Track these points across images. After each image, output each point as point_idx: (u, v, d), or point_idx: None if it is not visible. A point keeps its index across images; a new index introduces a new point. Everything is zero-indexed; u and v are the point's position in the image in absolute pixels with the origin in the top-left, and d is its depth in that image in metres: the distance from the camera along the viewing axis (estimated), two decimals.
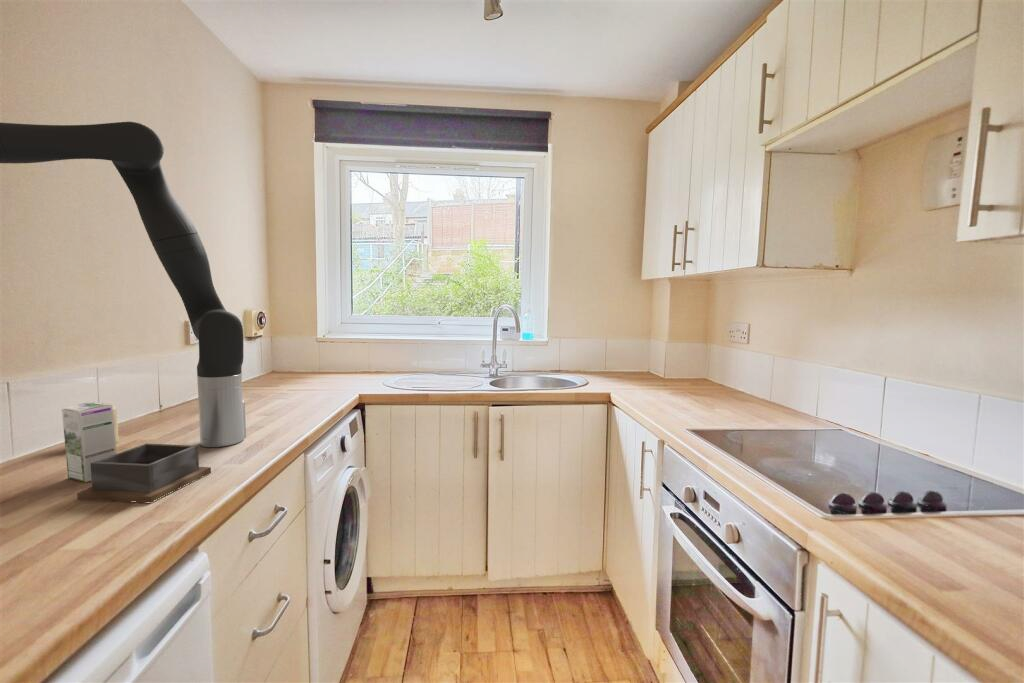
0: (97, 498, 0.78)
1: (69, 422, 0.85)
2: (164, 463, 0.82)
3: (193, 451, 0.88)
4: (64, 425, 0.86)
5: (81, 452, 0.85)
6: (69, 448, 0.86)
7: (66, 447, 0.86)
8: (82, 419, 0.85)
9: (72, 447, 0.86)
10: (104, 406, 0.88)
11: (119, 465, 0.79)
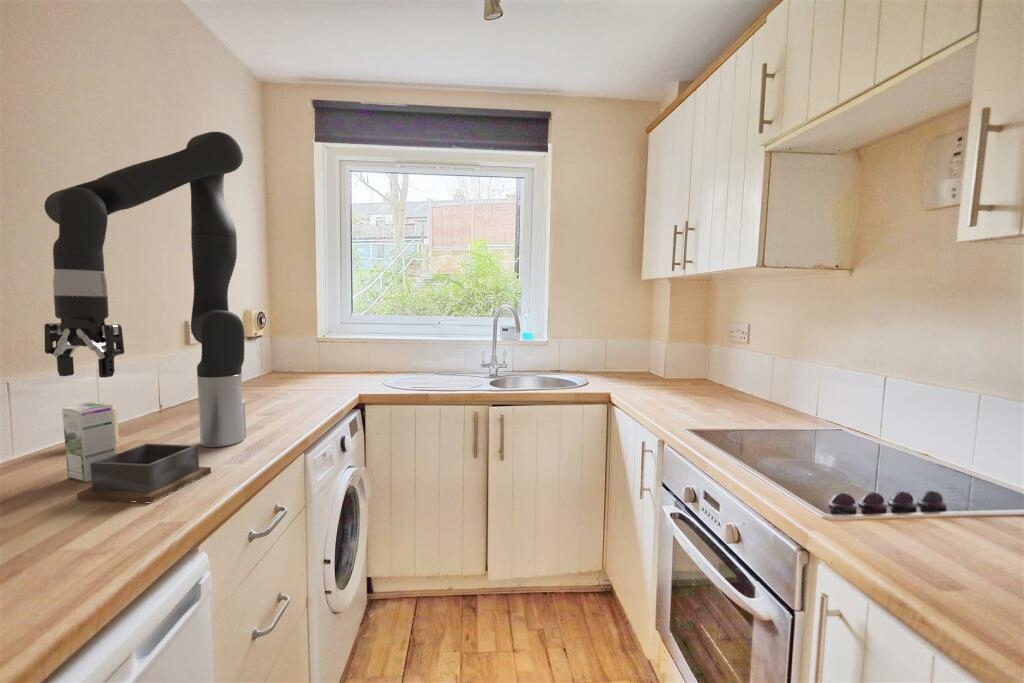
0: (97, 498, 0.78)
1: (69, 422, 0.85)
2: (164, 463, 0.82)
3: (193, 451, 0.88)
4: (64, 425, 0.86)
5: (81, 452, 0.85)
6: (69, 448, 0.86)
7: (66, 447, 0.86)
8: (82, 419, 0.85)
9: (72, 447, 0.86)
10: (104, 406, 0.88)
11: (119, 465, 0.79)
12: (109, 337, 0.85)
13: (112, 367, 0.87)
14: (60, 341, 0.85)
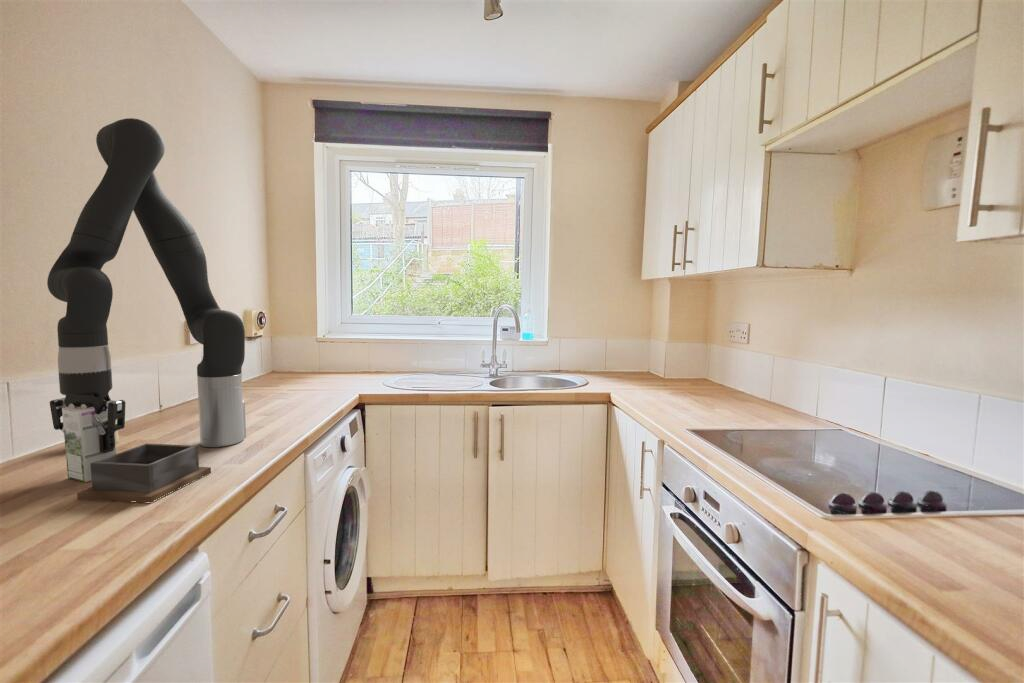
0: (97, 498, 0.78)
1: (69, 422, 0.85)
2: (164, 463, 0.82)
3: (193, 451, 0.88)
4: (64, 425, 0.86)
5: (81, 452, 0.85)
6: (69, 448, 0.86)
7: (66, 447, 0.86)
8: (82, 419, 0.84)
9: (72, 447, 0.86)
10: None
11: (119, 465, 0.79)
12: (112, 414, 0.86)
13: (113, 441, 0.88)
14: None
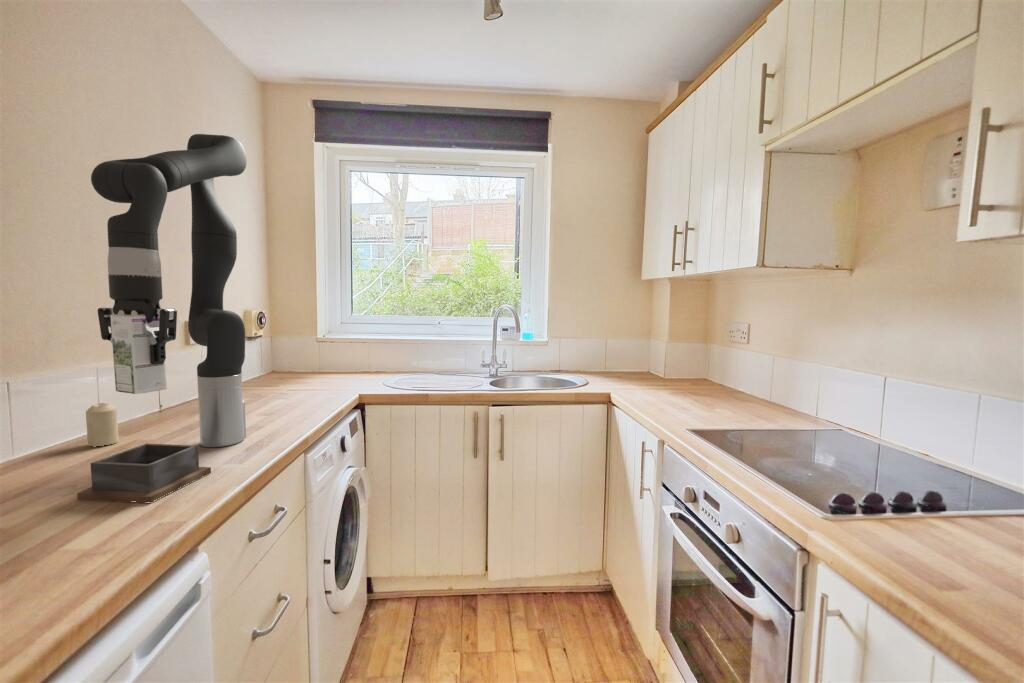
0: (97, 498, 0.78)
1: (118, 329, 0.80)
2: (164, 463, 0.82)
3: (193, 451, 0.88)
4: (113, 333, 0.80)
5: (131, 362, 0.79)
6: (118, 358, 0.80)
7: (114, 358, 0.81)
8: (132, 326, 0.79)
9: (121, 357, 0.80)
10: None
11: (119, 465, 0.79)
12: (164, 322, 0.80)
13: (164, 353, 0.83)
14: None
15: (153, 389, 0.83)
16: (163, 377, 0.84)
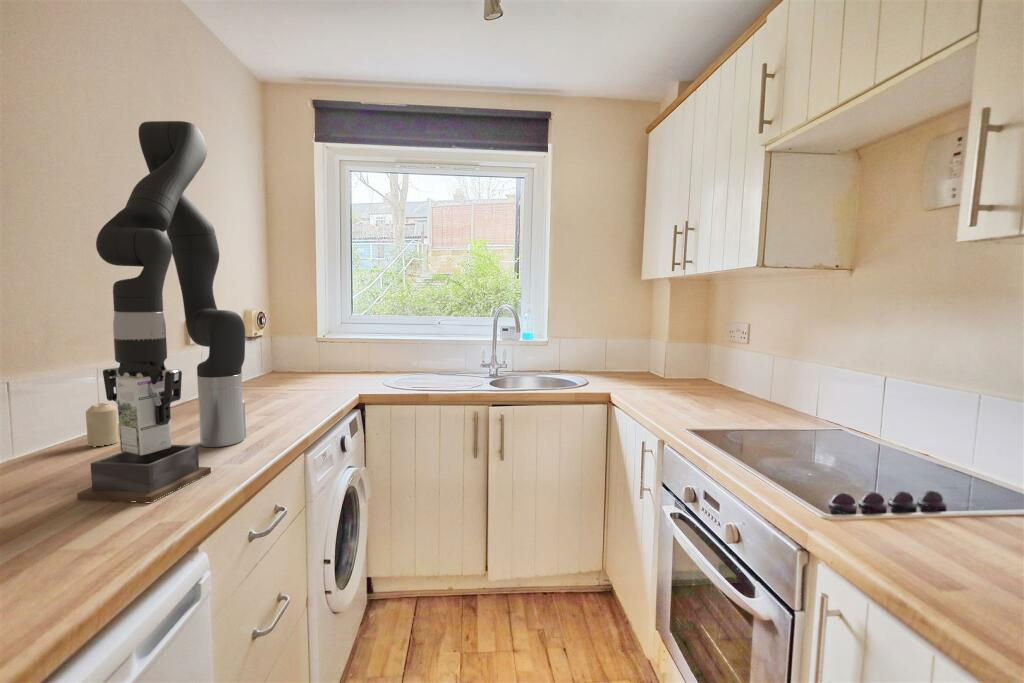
0: (97, 498, 0.78)
1: (124, 392, 0.81)
2: (164, 463, 0.82)
3: (193, 451, 0.88)
4: (118, 395, 0.81)
5: (136, 424, 0.80)
6: (123, 420, 0.81)
7: (120, 419, 0.82)
8: (137, 389, 0.80)
9: (126, 419, 0.81)
10: None
11: (119, 465, 0.79)
12: (169, 384, 0.81)
13: (169, 413, 0.84)
14: None
15: (158, 449, 0.84)
16: (168, 436, 0.85)
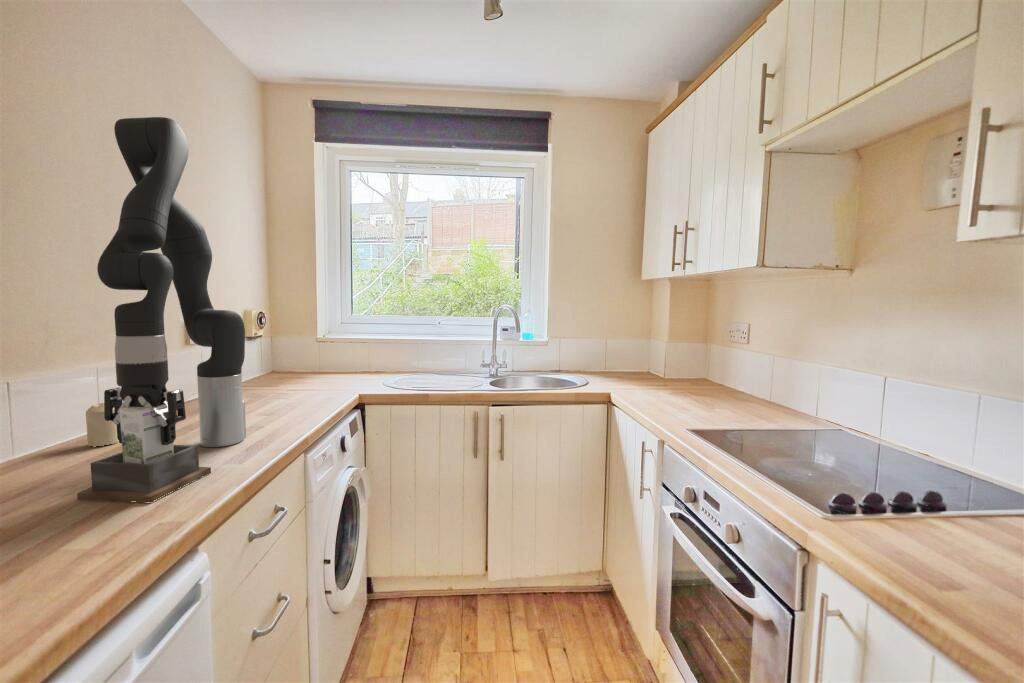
0: (97, 498, 0.78)
1: (128, 423, 0.81)
2: (164, 463, 0.82)
3: (193, 451, 0.88)
4: (122, 426, 0.82)
5: (141, 455, 0.81)
6: (127, 450, 0.82)
7: (124, 450, 0.82)
8: (143, 420, 0.80)
9: (131, 449, 0.81)
10: (163, 406, 0.84)
11: (119, 465, 0.79)
12: (172, 404, 0.82)
13: (174, 433, 0.84)
14: None
15: None
16: None
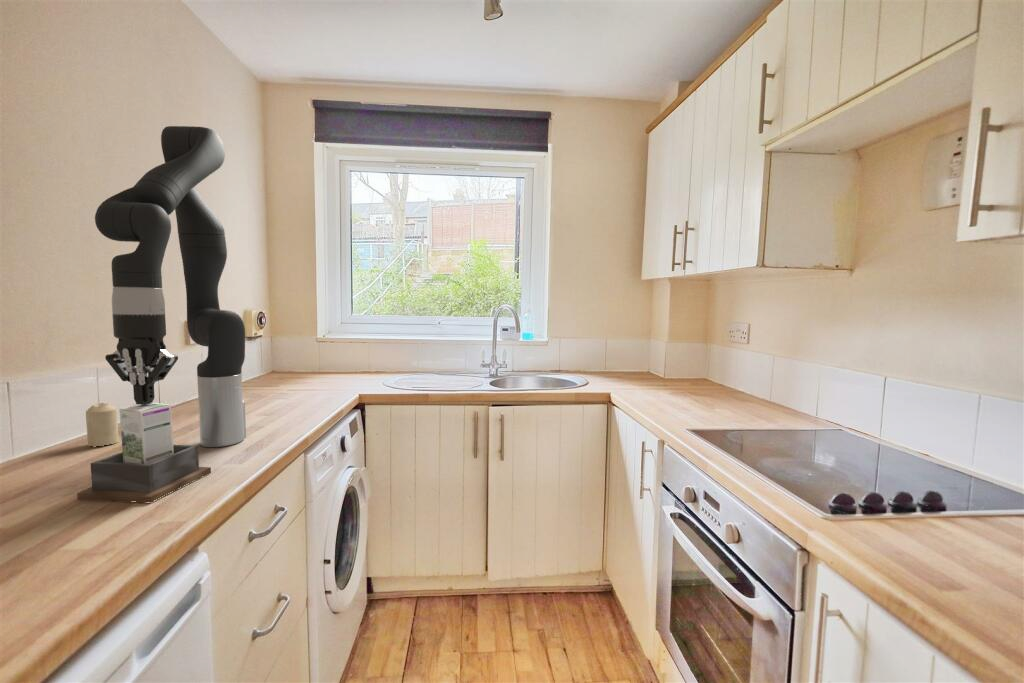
0: (97, 498, 0.78)
1: (128, 423, 0.81)
2: (164, 463, 0.82)
3: (193, 451, 0.88)
4: (122, 426, 0.82)
5: (141, 455, 0.81)
6: (127, 450, 0.82)
7: (124, 450, 0.82)
8: (143, 420, 0.80)
9: (131, 449, 0.81)
10: (163, 406, 0.84)
11: (119, 465, 0.79)
12: (160, 367, 0.81)
13: (152, 393, 0.84)
14: (127, 365, 0.81)
15: None
16: None
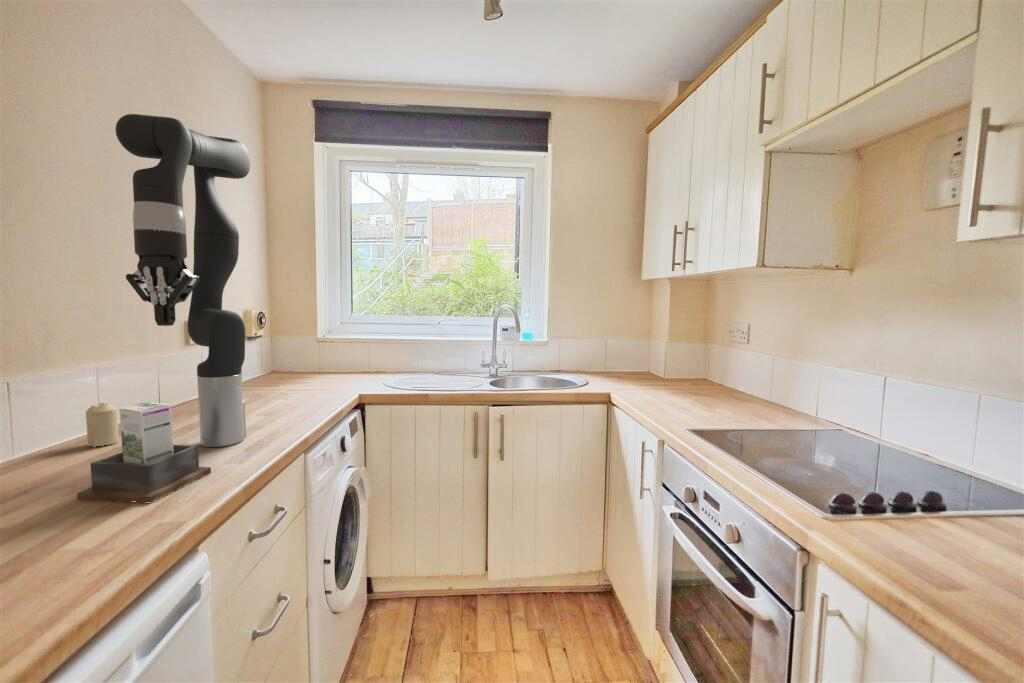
0: (97, 498, 0.78)
1: (128, 423, 0.81)
2: (164, 463, 0.82)
3: (193, 451, 0.88)
4: (122, 426, 0.82)
5: (141, 455, 0.81)
6: (127, 450, 0.82)
7: (124, 450, 0.82)
8: (143, 420, 0.80)
9: (131, 449, 0.81)
10: (163, 406, 0.84)
11: (119, 465, 0.79)
12: (182, 286, 0.80)
13: (174, 315, 0.82)
14: (148, 284, 0.80)
15: None
16: None
